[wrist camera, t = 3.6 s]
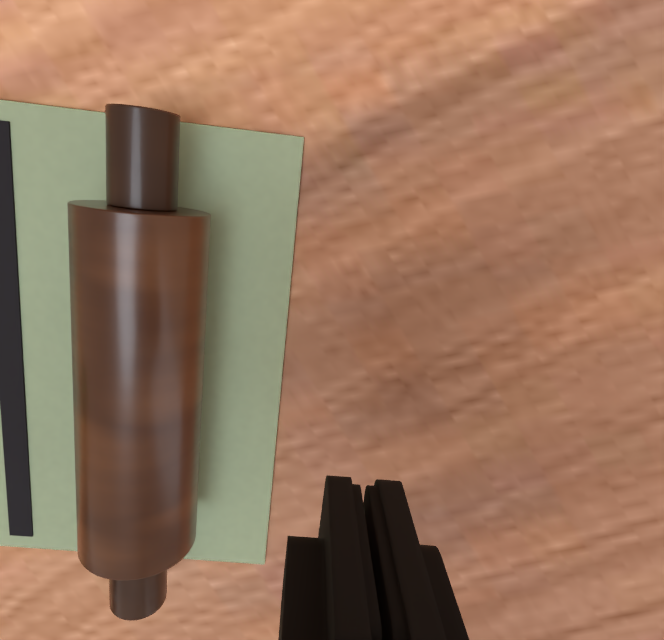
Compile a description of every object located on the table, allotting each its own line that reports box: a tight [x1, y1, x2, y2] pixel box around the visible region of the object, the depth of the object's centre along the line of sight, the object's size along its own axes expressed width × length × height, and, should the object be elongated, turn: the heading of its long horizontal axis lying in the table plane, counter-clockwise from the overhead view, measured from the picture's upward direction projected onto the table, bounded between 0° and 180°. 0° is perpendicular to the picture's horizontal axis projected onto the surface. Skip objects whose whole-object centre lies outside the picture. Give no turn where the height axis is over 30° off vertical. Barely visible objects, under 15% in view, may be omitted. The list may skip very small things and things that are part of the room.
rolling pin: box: [67, 104, 211, 620], centre depth 18 cm, size 4×19×4 cm, turn 173°
